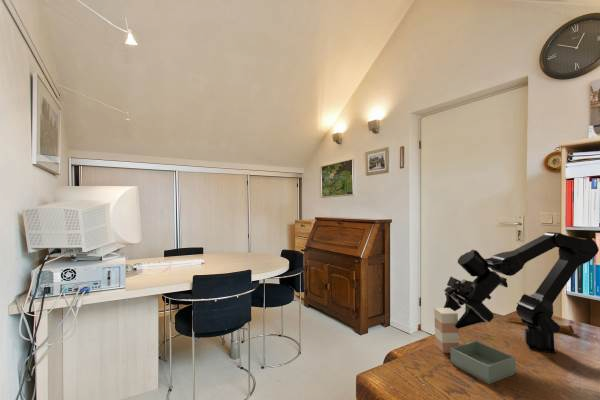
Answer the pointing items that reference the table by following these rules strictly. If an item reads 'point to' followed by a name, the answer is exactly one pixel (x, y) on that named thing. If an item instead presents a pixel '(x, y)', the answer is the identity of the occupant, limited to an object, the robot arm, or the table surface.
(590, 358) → the table surface
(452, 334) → the tile stack
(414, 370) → the table surface
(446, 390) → the table surface
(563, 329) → the primitive tool
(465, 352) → the box
